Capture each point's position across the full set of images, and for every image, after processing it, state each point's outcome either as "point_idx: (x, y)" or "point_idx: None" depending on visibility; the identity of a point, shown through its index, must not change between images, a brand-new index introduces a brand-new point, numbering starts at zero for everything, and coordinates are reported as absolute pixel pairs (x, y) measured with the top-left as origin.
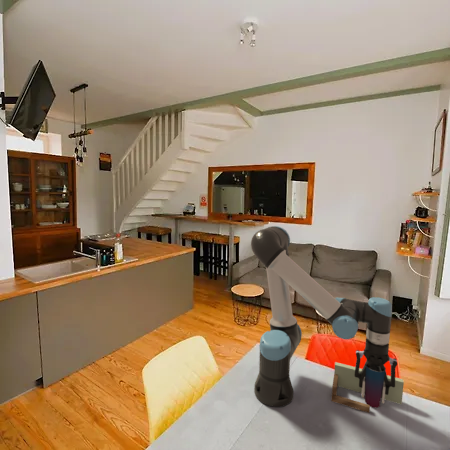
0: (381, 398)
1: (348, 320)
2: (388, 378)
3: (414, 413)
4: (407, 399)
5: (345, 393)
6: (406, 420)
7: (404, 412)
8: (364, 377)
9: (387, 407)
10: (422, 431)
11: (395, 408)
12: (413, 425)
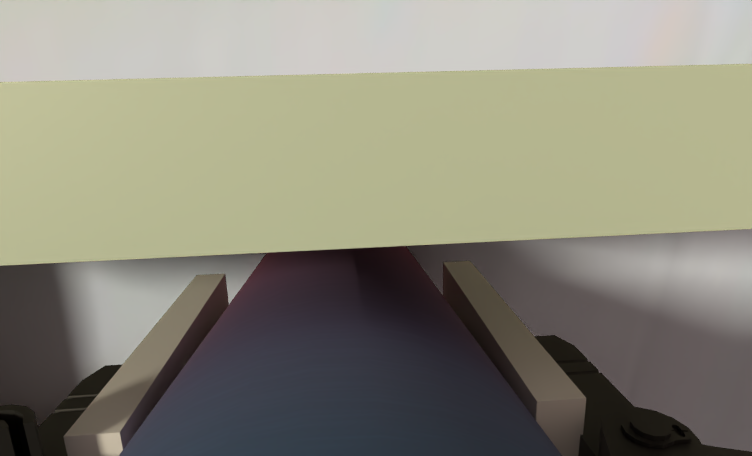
0: (445, 284)
1: None
2: (721, 224)
3: (743, 233)
4: (741, 7)
5: (28, 275)
6: (639, 372)
7: (648, 268)
8: (106, 438)
9: (491, 277)
10: (737, 434)
11: (570, 251)
12: (684, 403)
